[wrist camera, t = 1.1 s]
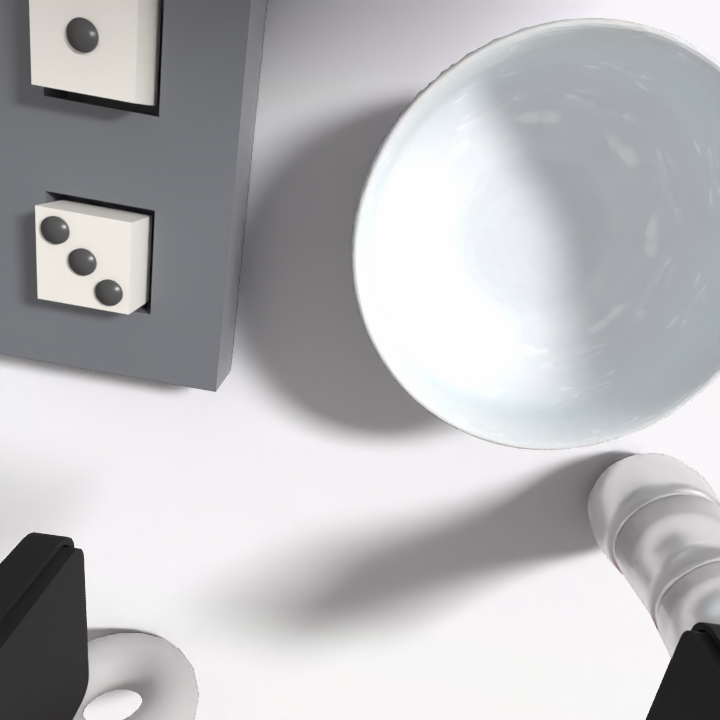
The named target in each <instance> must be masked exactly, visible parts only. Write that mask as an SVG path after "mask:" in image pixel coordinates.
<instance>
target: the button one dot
mask: <svg viewBox="0 0 720 720" xmlns="http://www.w3.org/2000/svg"><path fill="white" fill-rule="evenodd" d="M161 3H162V0H29V16H30V50H31V84H32V85H38V86H43V87H49V88H54V89H60V90H65V91H71V92H76V93H81V94H87V95H92V96H98V97H103V98H109V99H114V100H119V101H125V102H130V103H136V104H144V105H152V106H157V97H158V74H159V50H160V26H161Z"/></svg>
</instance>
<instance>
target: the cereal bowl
mask: <svg viewBox="0 0 720 720" xmlns="http://www.w3.org/2000/svg"><path fill="white" fill-rule="evenodd" d="M351 245H352V259H351V267H352V274H353V286H354V293H355V296H356V300H357V304H358V308H359V314H360V316H361V318H362V321H363V323H364V326H365V329H366V331H367V334H368V337H369V339H370V341H371V343H372V344H373V346H374V348H375V350H376V352H377V354H378V356H379V358H380V359H381V361H382V362H383V364H384V365H385V367H386V368H387V370H388V371H389V372H390V374H391V375H392V376H393V378H394V379H395V380H396V381H397V382H398V384H399V385H400V386H401V387H402V388H403V389H404V390H405V391H406V392H407V393H408V394H409V395H410V396H411V397H412V398H413V399H414V400H415V401H417V402H418V403H419V404H420V405H421V406H423V407H424V408H425V409H426V410H428V411H429V412H430V413H432V414H433V415H435V416H436V417H438V418H439V419H441V420H442V421H444V422H446V423H447V424H449V425H451V426H453V427H454V428H457V429H459V430H461V431H463V432H465V433H467V434H469V435H472V436H474V437H477V438H480V439H482V440H485V441H488V442H492V443H496V444H499V445H504V446H509V447H515V448H521V449H533V450H559V449H570V448H577V447H584V446H590V445H595V444H599V443H603V442H607V441H610V440H614V439H618V438H620V437H623V436H626V435H629V434H632V433H634V432H637V431H639V430H641V429H644V428H646V427H648V426H650V425H653V424H655V423H656V422H658V421H660V420H662V419H664V418H666V417H668V416H670V415H671V414H673V413H674V412H676V411H677V410H679V409H680V408H682V407H683V406H685V405H686V404H687V403H689V402H690V401H692V400H693V399H694V398H695V397H697V396H698V395H699V394H700V393H702V392H703V391H704V390H705V389H706V388H707V387H708V386H709V385H711V384H712V383H713V382H714V381H715V380H716V379H717V378H718V377H719V376H720V63H719V62H718V61H717V60H716V59H714V58H713V57H711V56H710V55H709V54H707V53H706V52H704V51H703V50H701V49H700V48H698V47H696V46H694V45H693V44H691V43H689V42H688V41H686V40H684V39H682V38H680V37H678V36H675V35H673V34H670V33H668V32H665V31H663V30H660V29H656V28H652V27H649V26H646V25H642V24H638V23H633V22H629V21H622V20H615V19H604V18H583V19H568V20H560V21H552V22H549V23H544V24H540V25H536V26H532V27H528V28H524V29H521V30H518V31H516V32H514V33H511V34H509V35H506V36H504V37H501V38H497V39H494V40H492V41H491V42H489V43H488V44H486V45H485V46H483V47H481V48H479V49H477V50H475V51H473V52H470V53H468V54H467V55H466V56H464V57H463V58H462V59H461V60H460V61H459V62H457V63H456V64H453V65H451V66H450V67H449V68H448V69H446V70H445V71H443V72H441V74H440V75H439V76H438V77H437V78H436V79H435V80H434V81H432V82H430V83H429V84H428V86H427V87H426V88H425V89H424V90H422V91H420V92H419V93H418V95H417V96H416V98H415V99H414V101H412V102H411V103H410V104H409V105H408V107H407V108H406V109H405V110H404V111H403V112H402V113H401V114H400V115H399V117H398V119H397V121H396V122H395V124H393V125H392V127H391V129H390V131H389V132H388V134H387V135H386V136H385V137H384V139H383V142H382V144H381V146H380V147H379V149H378V150H377V153H376V156H375V158H374V159H373V161H372V162H371V165H370V169H369V172H368V173H367V175H366V178H365V183H364V185H363V187H362V188H361V193H360V198H359V200H358V207H357V210H356V212H355V215H354V225H353V234H352V238H351Z"/></svg>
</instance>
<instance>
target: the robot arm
mask: <svg viewBox="0 0 720 720" xmlns="http://www.w3.org/2000/svg"><path fill="white" fill-rule="evenodd" d="M88 682H89V662H88V640H87V617H86V595H85V572H84V555H83V551H82V549H78V548H74V542H73V540H72V539H71V538H69V537H64V536H56V535H49V534H41V533H34V532H33V533H30V534H28V535H27V536H26V537H25V538H23V540H22V541H21V542H20V543H19V544H18V545H17V546H16V547H15V548H14V549H13V551H12V552H11V553H10V554H9V555H8V556H7V557H6V558H5V559H4V560H3V561H2V563H1V564H0V720H73V718H74V716H75V715H76V713H77V711H78V709H79V707H80V705H81V703H82V701H83V699H84V696H85V694H86V690H87V687H88ZM646 720H720V624H712V623H705V622H698V623H696V624H695V625H694V626H693V627H692V629H691V630H690V631H689V630H686V631H685V632H683V634H682V635H681V637H680V639H679V642H678V644H677V646H676V649H675V651H674V654H673V656H672V658H671V661H670V663H669V665H668V668H667V670H666V673H665V675H664V677H663V680H662V682H661V684H660V687H659V689H658V692H657V694H656V696H655V699H654V701H653V703H652V706H651V708H650V711H649V713H648V715H647V718H646Z"/></svg>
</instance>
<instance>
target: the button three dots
mask: <svg viewBox="0 0 720 720" xmlns="http://www.w3.org/2000/svg"><path fill="white" fill-rule="evenodd" d="M35 223H36V257H37V292H38V299H44V300H49V301H55V302H60V303H66V304H72V305H77V306H83V307H89V308H94V309H100V310H106V311H111V312H117V313H122V314H128V315H129V314H131V313H132V312H133V311H135V310H136V309H138V308H139V307H141V306H142V305H144V304H145V303H147V302H148V301H149V287H150V263H151V240H152V216H151V215H146V214H140V213H135V212H129V211H124V210H118V209H113V208H107V207H102V206H96V205H90V204H85V203H79V202H74V201H68V200H60V201H55V202H49V203H44V204H39V205H35Z"/></svg>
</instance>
